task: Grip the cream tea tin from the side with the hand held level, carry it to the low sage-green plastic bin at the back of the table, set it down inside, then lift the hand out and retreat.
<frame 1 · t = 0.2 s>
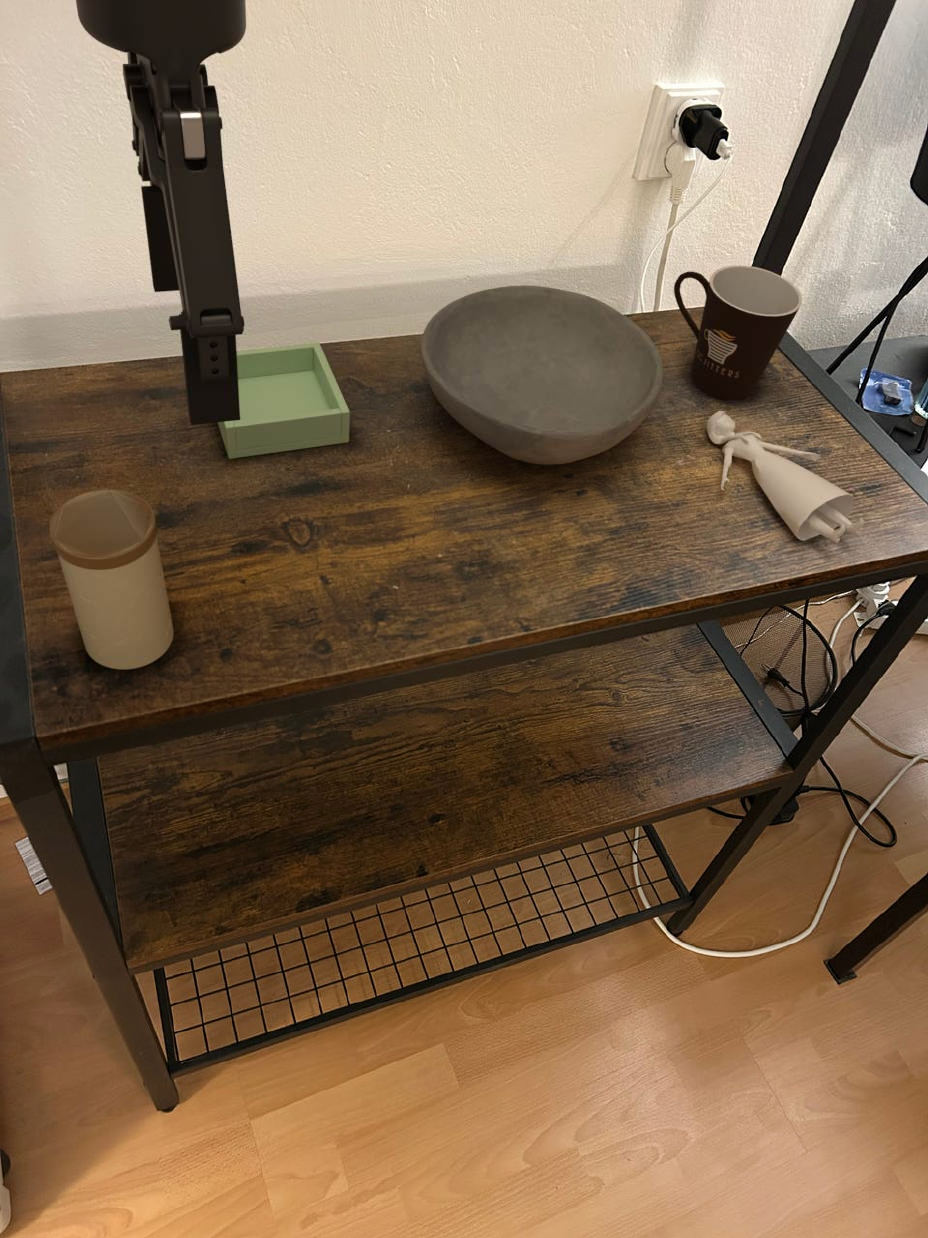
hand: (193, 349, 58), 19 cm above the table, tool pointing down, fingers open, 13 cm apart
bowl: (529, 426, 89), on the table
woman figurine: (768, 490, 87), on the table
coffee mug: (713, 373, 98), on the table
tea tin: (129, 635, 68), on the table
bin: (276, 413, 86), on the table
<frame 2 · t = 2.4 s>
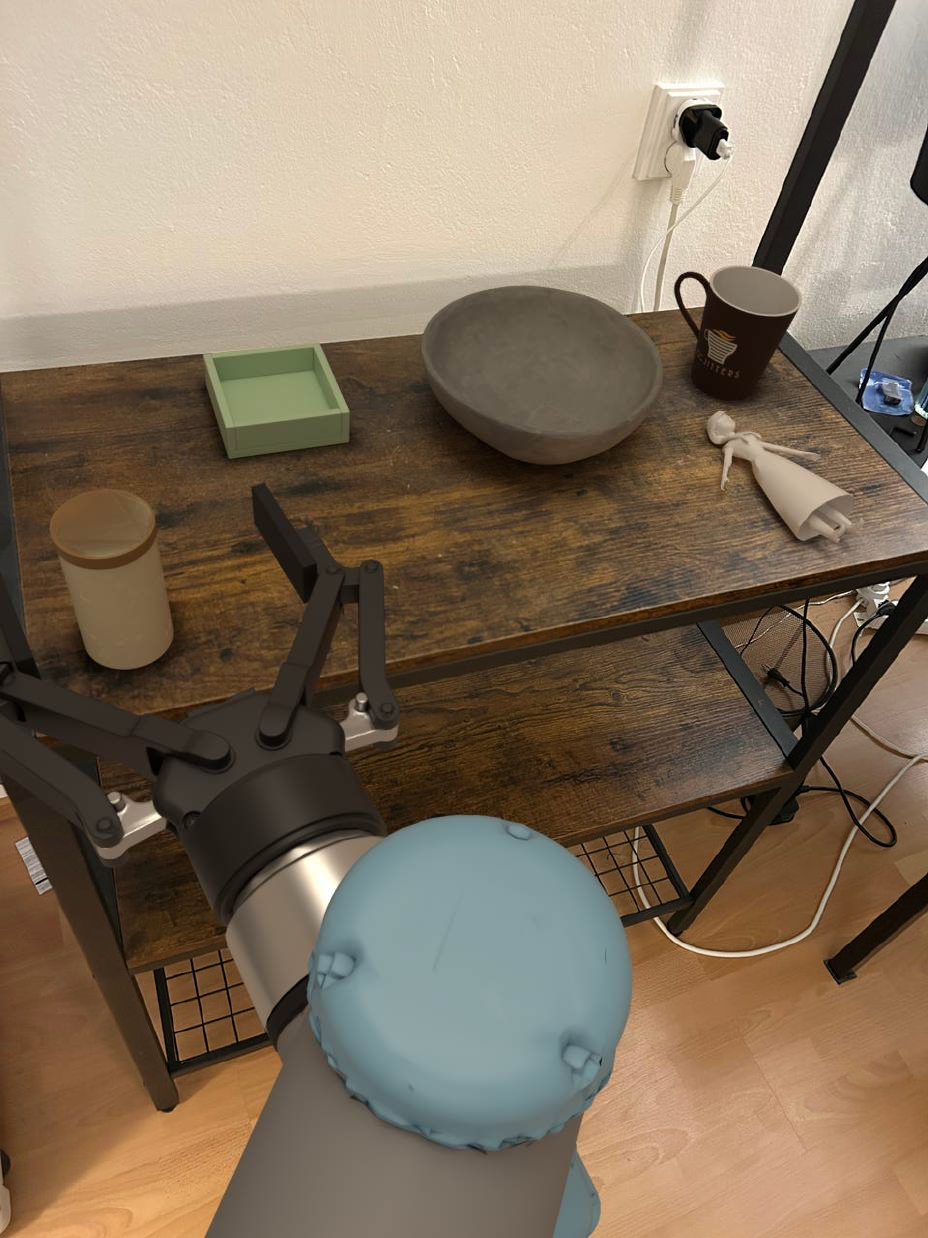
hand: (133, 539, 50), 18 cm above the table, tool horizontal, fingers open, 13 cm apart
nothing on the table moved.
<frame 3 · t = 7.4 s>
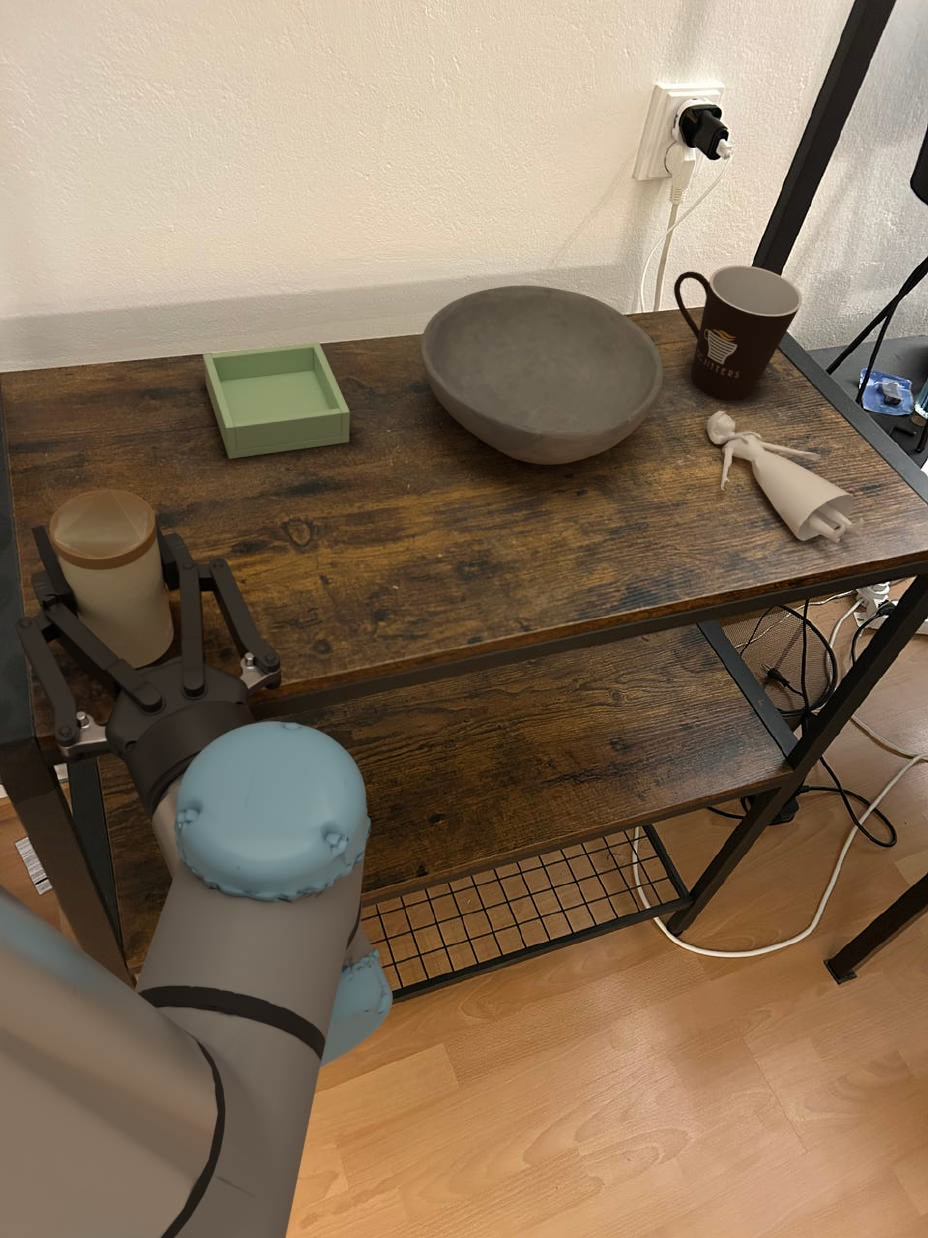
hand: (92, 527, 66), 6 cm above the table, tool horizontal, fingers closed on tea tin, 6 cm apart
tea tin: (129, 635, 68), on the table, touching gripper
everything else where it was.
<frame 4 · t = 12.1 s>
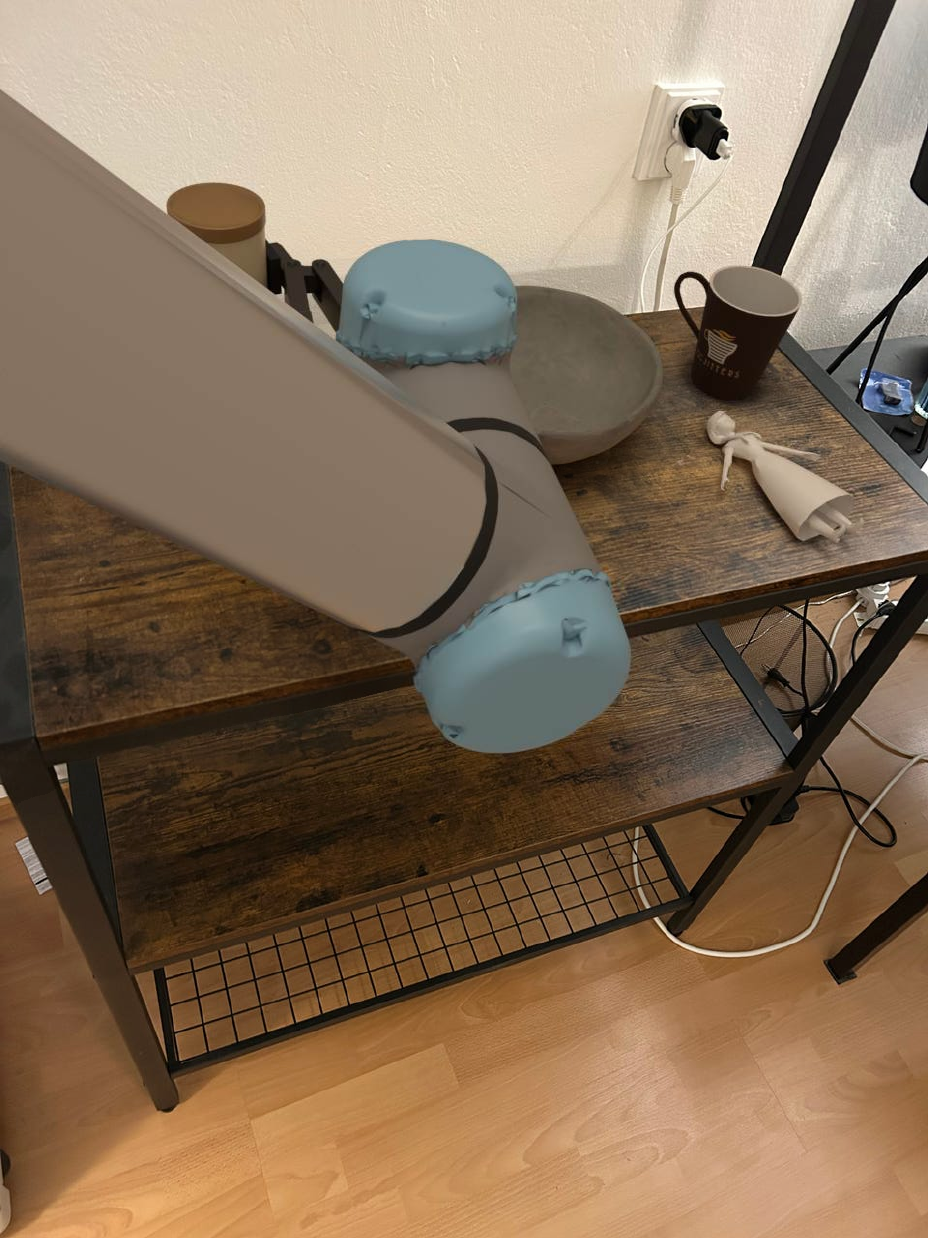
hand: (196, 238, 69), 18 cm above the table, tool horizontal, fingers closed on tea tin, 6 cm apart
tea tin: (228, 350, 71), point 12 cm above the table, touching gripper
everything else where it was.
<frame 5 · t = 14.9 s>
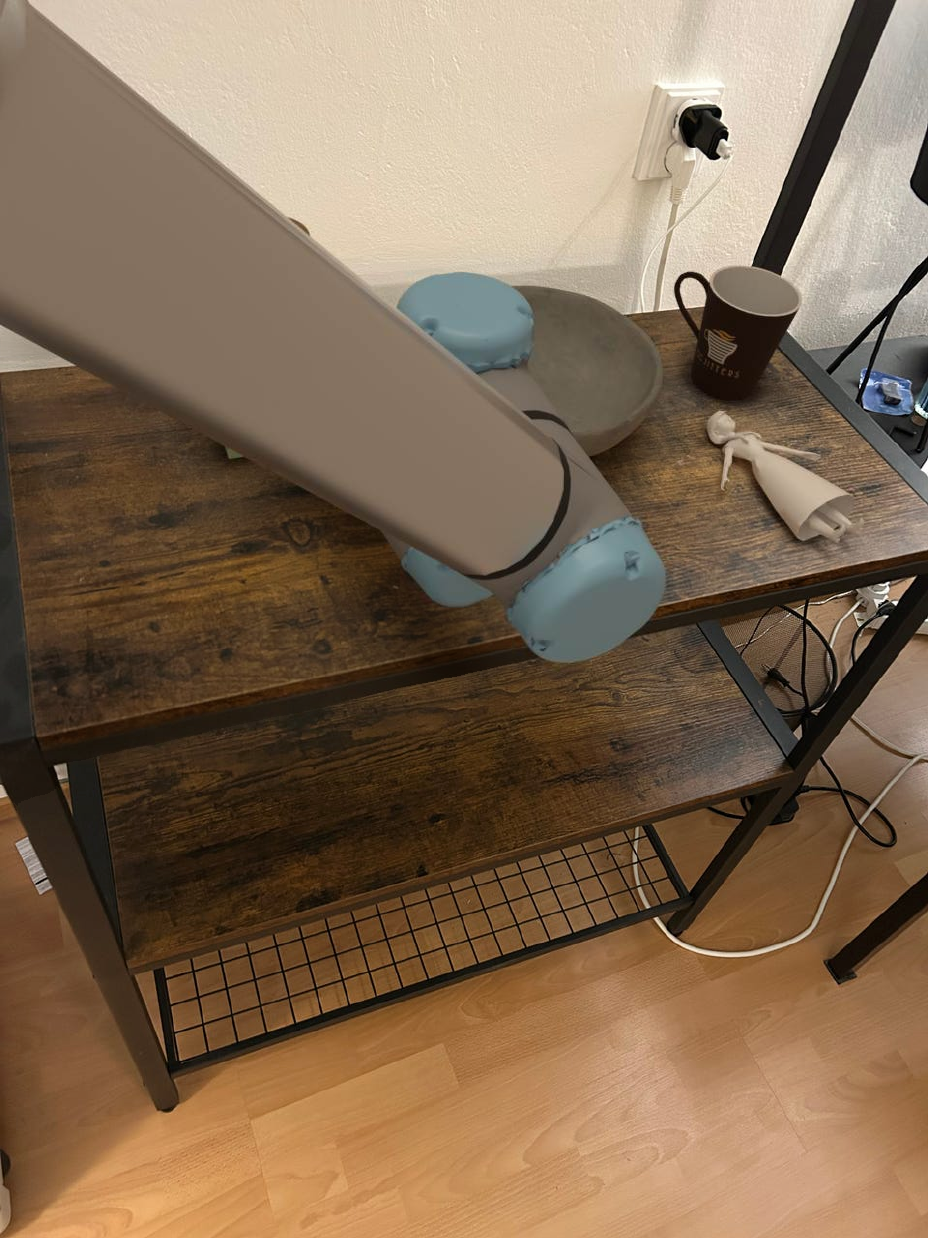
hand: (247, 261, 80), 12 cm above the table, tool horizontal, fingers closed on tea tin, 6 cm apart
tea tin: (274, 357, 81), point 6 cm above the table, touching gripper
everything else where it was.
when the fingers open (7 cm above the table, at t = 16.7 s): tea tin stays where it is, resting on bin.
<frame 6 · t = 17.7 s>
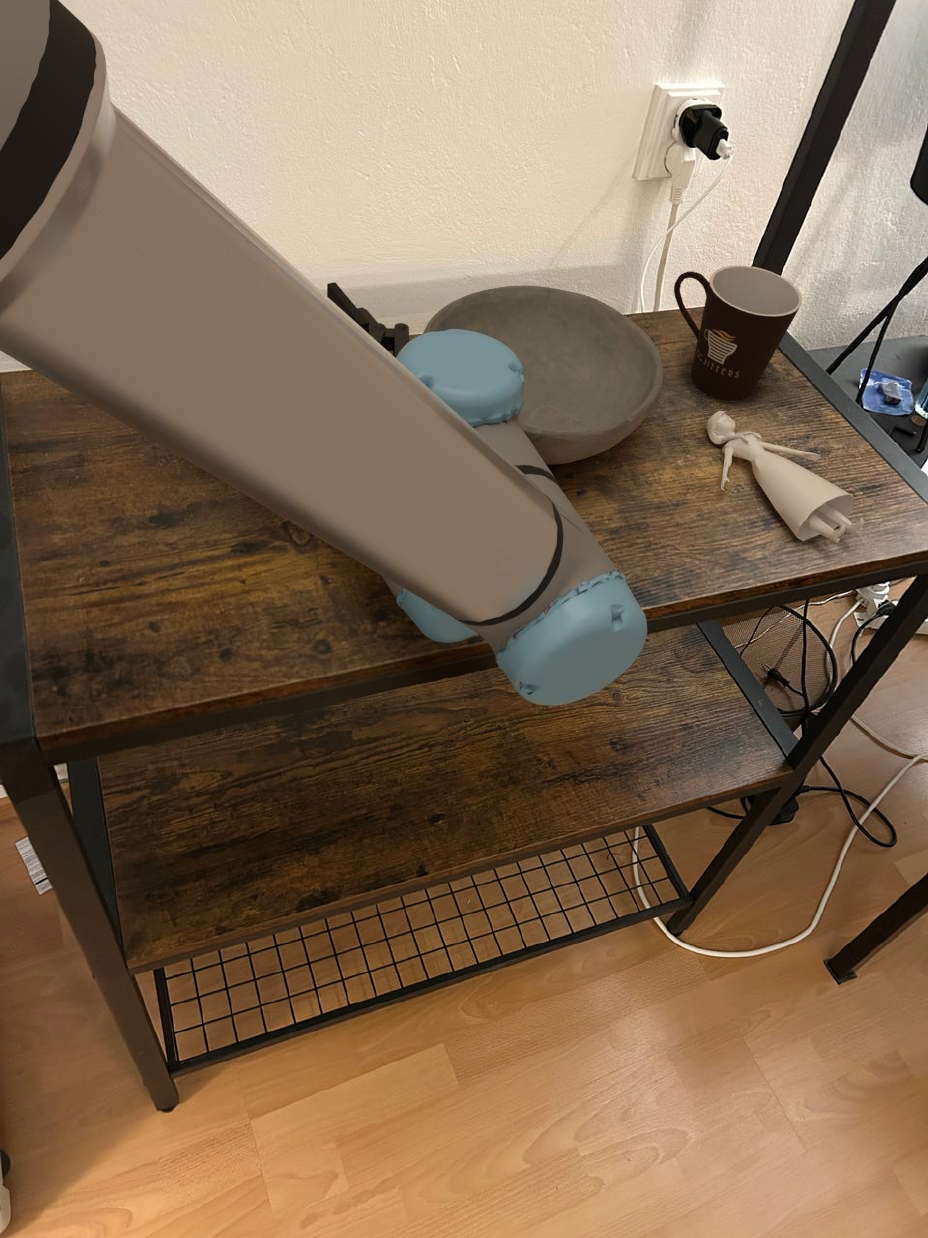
hand: (256, 311, 81), 8 cm above the table, tool horizontal, fingers open, 13 cm apart
tea tin: (276, 406, 85), point 1 cm above the table, touching bin
everything else where it was.
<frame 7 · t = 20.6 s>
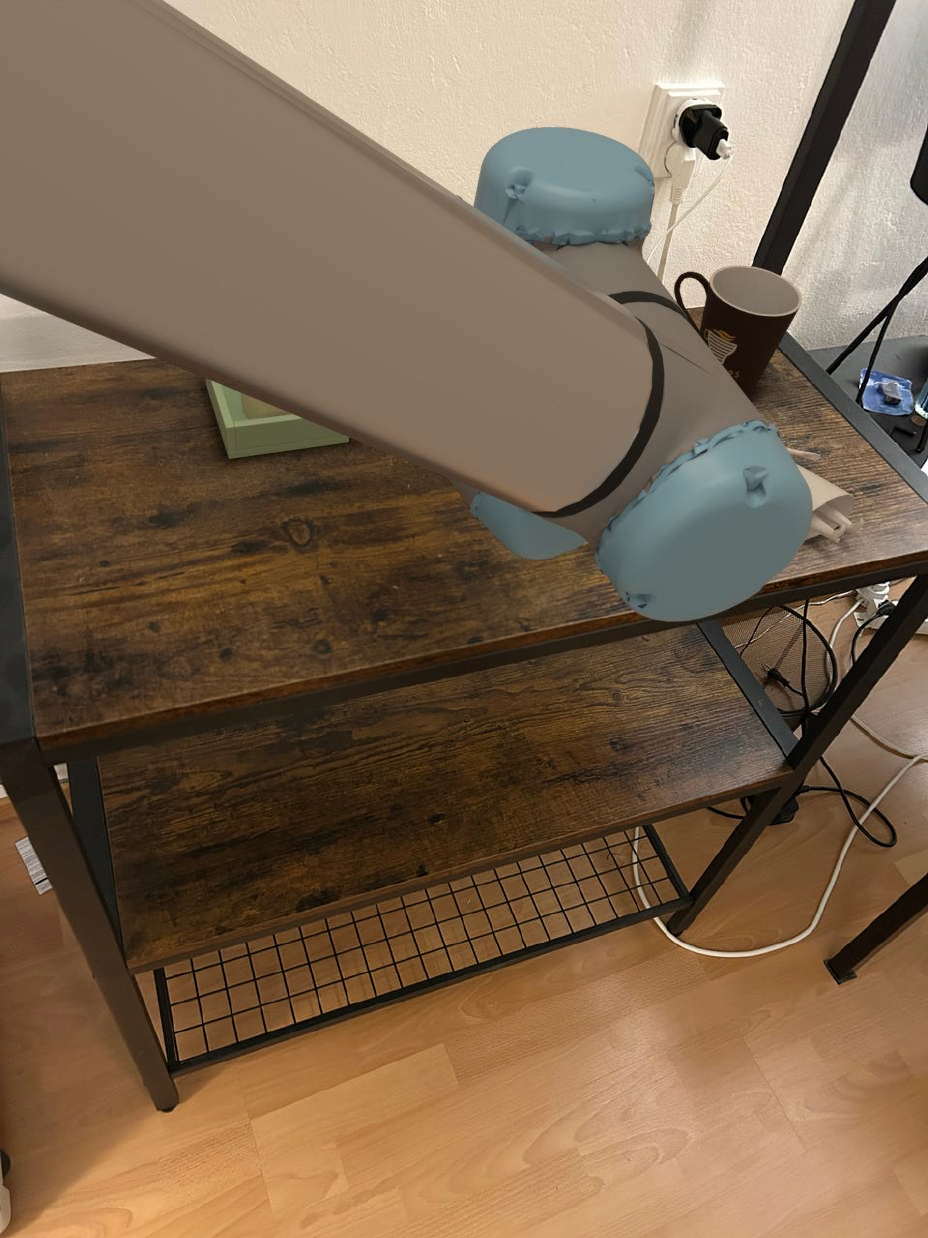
hand: (278, 183, 68), 22 cm above the table, tool horizontal, fingers open, 13 cm apart
nothing on the table moved.
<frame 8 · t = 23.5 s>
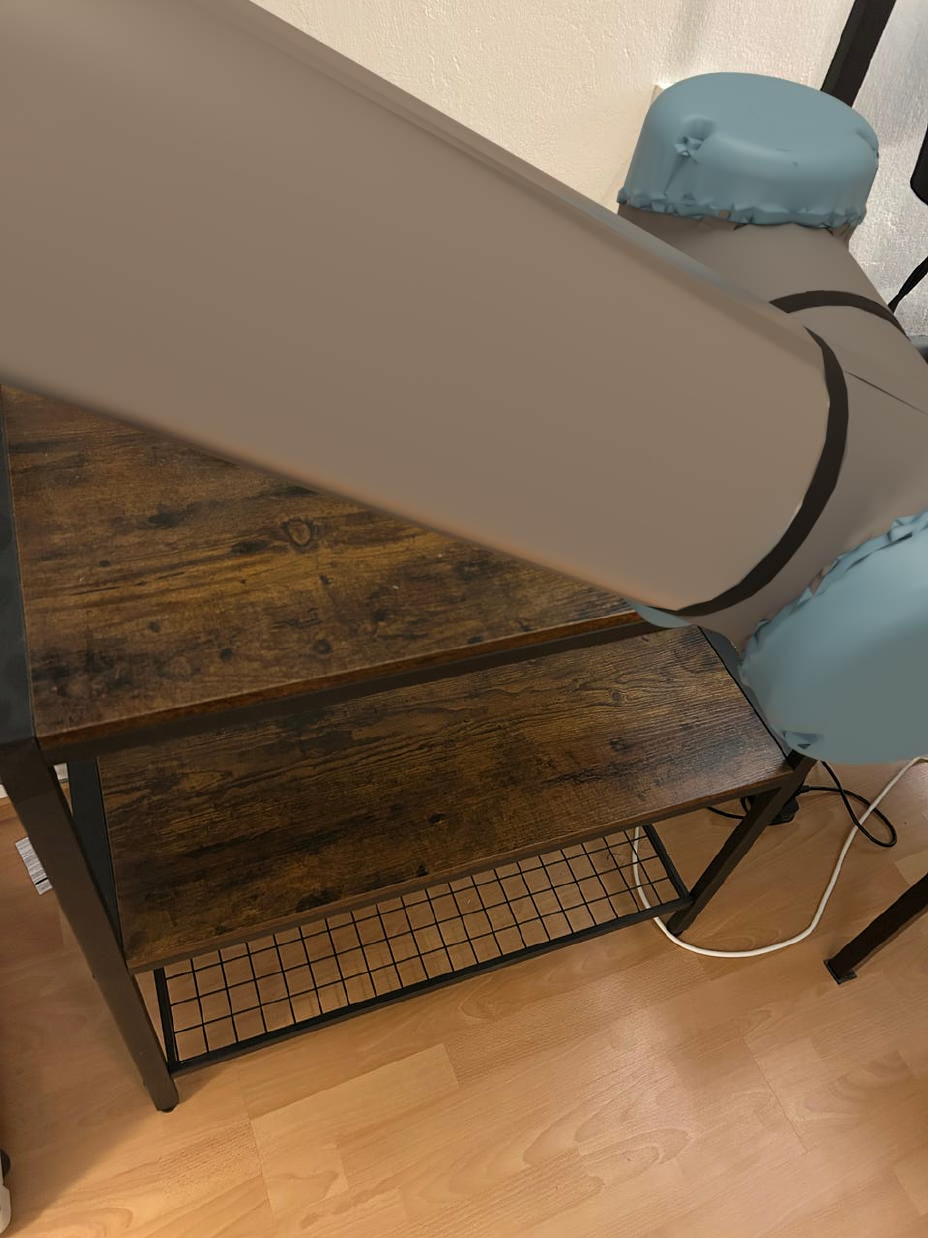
hand: (333, 163, 57), 28 cm above the table, tool horizontal, fingers open, 13 cm apart
nothing on the table moved.
at the end: tea tin inside the target area in the bin (0.0 cm from its centre), point 0.8 cm above the bin's base; tea tin tilted 0°; the gripper is holding nothing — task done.
